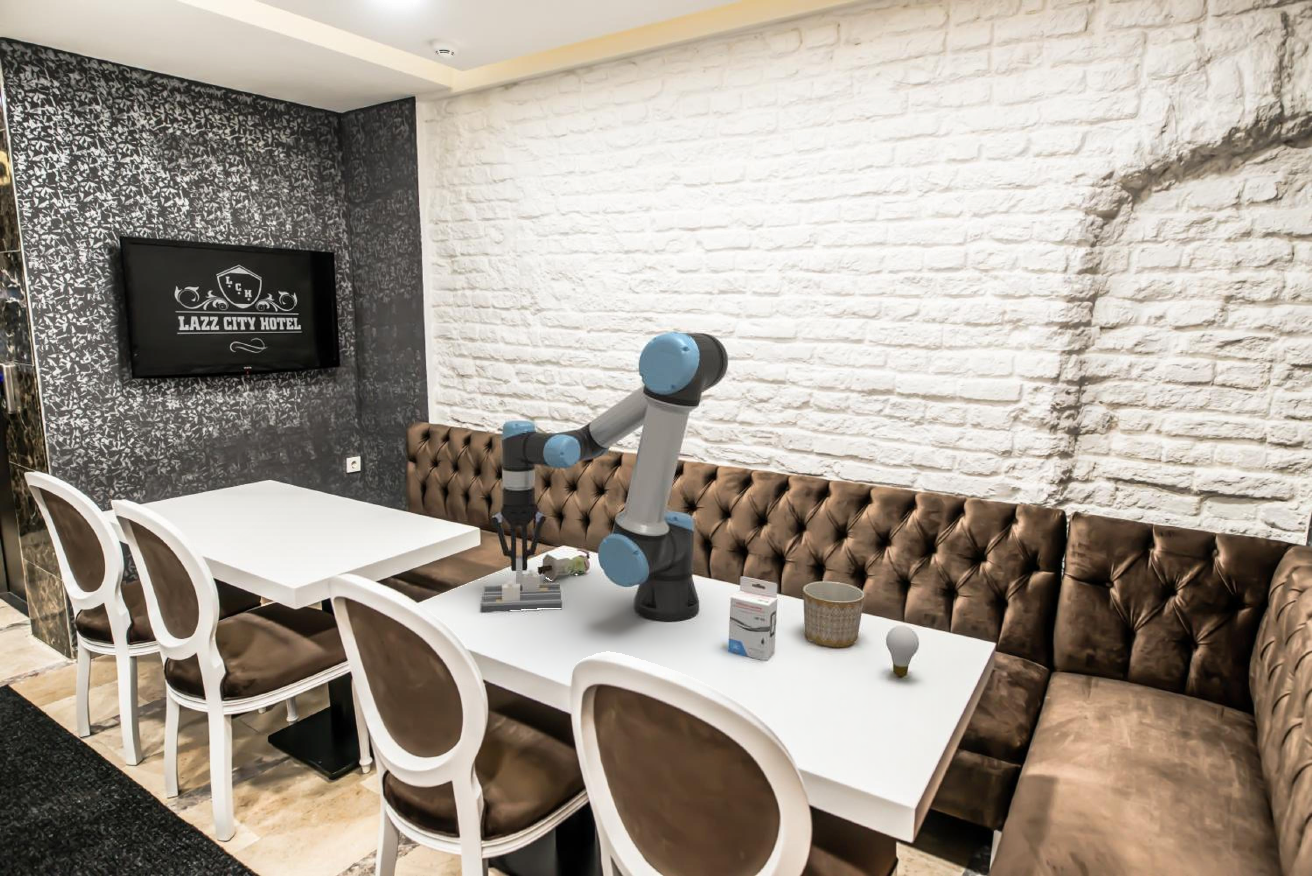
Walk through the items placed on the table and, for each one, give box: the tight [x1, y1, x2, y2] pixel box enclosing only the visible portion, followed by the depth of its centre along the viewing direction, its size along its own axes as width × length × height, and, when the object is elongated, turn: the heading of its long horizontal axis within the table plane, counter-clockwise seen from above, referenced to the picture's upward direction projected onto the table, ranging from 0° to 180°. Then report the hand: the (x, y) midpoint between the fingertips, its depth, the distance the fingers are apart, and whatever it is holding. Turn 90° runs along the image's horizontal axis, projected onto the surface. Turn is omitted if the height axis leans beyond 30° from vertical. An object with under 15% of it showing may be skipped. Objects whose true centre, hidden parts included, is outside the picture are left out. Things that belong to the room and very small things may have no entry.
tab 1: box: [501, 580, 520, 602], centre depth 173 cm, size 4×2×4 cm, turn 99°
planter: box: [802, 580, 865, 648], centre depth 159 cm, size 13×13×10 cm
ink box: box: [727, 575, 778, 662], centre depth 151 cm, size 8×5×15 cm, turn 60°
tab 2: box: [522, 569, 540, 591], centre depth 180 cm, size 4×2×4 cm, turn 99°
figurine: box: [537, 548, 591, 581], centre depth 195 cm, size 9×7×15 cm
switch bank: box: [481, 582, 563, 613], centre depth 177 cm, size 18×12×2 cm, turn 99°
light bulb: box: [885, 625, 920, 679], centre depth 142 cm, size 6×6×10 cm
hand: (519, 583), depth 180 cm, fingers closed
